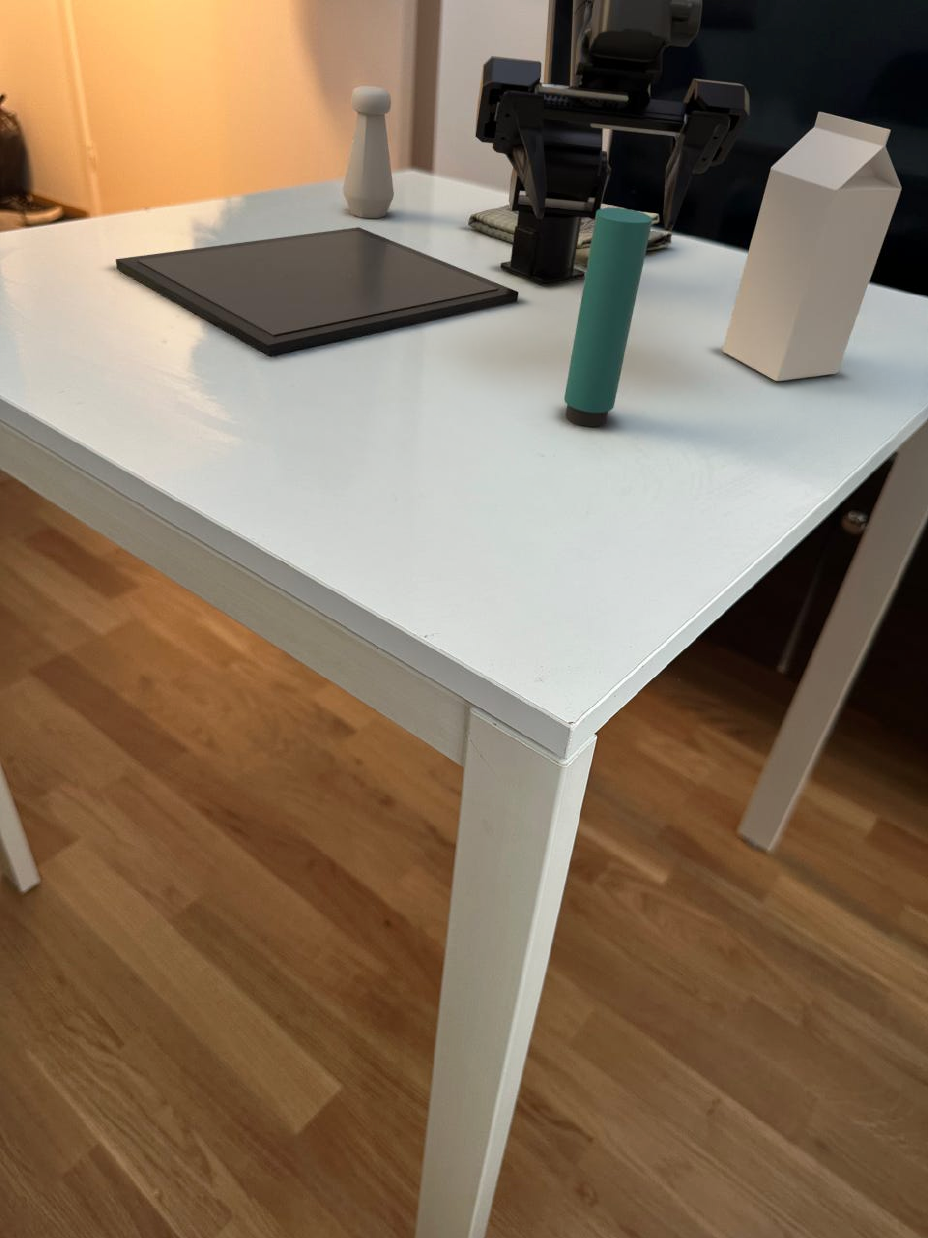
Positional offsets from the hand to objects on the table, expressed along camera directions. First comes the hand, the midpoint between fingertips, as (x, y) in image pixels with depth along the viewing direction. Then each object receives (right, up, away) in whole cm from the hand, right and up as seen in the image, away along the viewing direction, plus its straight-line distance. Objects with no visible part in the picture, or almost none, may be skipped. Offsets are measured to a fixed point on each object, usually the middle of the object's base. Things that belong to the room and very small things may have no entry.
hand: (605, 221), depth 65 cm
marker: (-1, -13, +3) cm, 14 cm away
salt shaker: (-21, +20, +44) cm, 52 cm away
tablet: (-23, +3, +21) cm, 31 cm away
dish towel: (+3, +17, +44) cm, 47 cm away
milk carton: (+18, -6, +16) cm, 24 cm away
